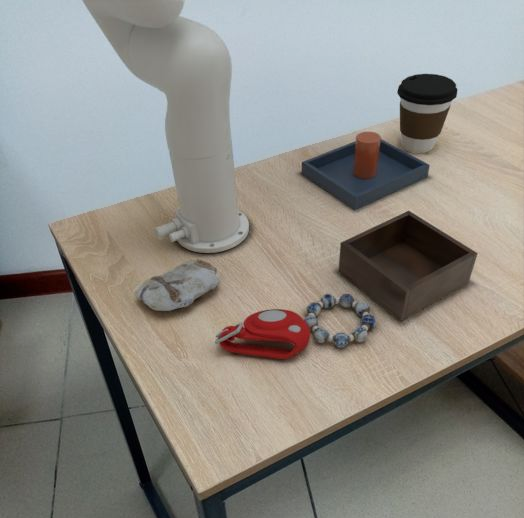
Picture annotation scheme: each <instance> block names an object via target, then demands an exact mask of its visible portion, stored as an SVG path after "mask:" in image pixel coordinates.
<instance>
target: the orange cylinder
mask: <svg viewBox="0 0 524 518" xmlns="http://www.w3.org/2000/svg"><path fill="white" fill-rule="evenodd" d="M381 139H382V136H381V134H379V133H378V132H374V131H362V132H360V133H359V132H358V134H356V136H355V141H356V144H355V156H354V168H353V174H354V175H355V176H356V177H358V178H361V179H370V178H373V177H375V176H376V174H377V167H378V159H379V150H380V142H381Z"/></svg>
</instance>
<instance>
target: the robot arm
mask: <svg viewBox="0 0 524 518" xmlns="http://www.w3.org/2000/svg"><path fill="white" fill-rule="evenodd" d="M81 1H82V2H83V4H84V6H85V7H86V9H87V11H88V12H89V14H90V15H91V17H92V18H93V20H94V21H95V23H96V24H97V26H98V28H99V29H100V30H101V31H102V33H103V35H104V37H105V38H106V39H107V41H108V43H109V44H110V46H111V47H112V48H113V50H114V52H115V53H116V54H117V56H118V57H119V59H120V60H121V62H122V63H123V64H124V66H125V67H126V68H127V69H128V71H129V72H131V74H132V75H134V77H136V78H137V79H139V80H141V81H142V82H144V83H145V84H147V85H149V86H151V87H153V88H155V89H157V90H158V91H159V92H161V93H164V95H165V97H166V102H167V103H166V112H165V119H164V132H165V138H166V145H167V149H168V154H169V159H170V165H171V170H172V175H173V179H174V186H175V191H176V196H177V202H178V207H179V209H177V210H175V211H174V217H175V218H172V219H170V222H168V223H164V224H161V225H159V226H157V227H154V233H155V235H156V237H157V239H159V240H162V239H164V238H166V237H169V240H170V242H171V243H174V242H177V243H178V244H179V245H181V247H183V248H184V249H186V250H188V251H191V252H195V253H199V254H200V253H201V254H215V253H222V252H224V251H228V250H231V249H233V248H235V247H237V246H239V245H240V244H241V243H242V242H243V241H245V239H246V238H247V237H248V234H249V232H250V222H249V219H248V217H247V216H246V215H245V213H243V212H242V211H241V210H240V209H239V203H238V192H237V191H238V190H237V181H236V171H235V170H236V169H235V159H234V150H233V140H232V131H231V130H232V129H231V116H230V100H231V99H230V98H231V87H232V76H233V74H232V73H233V65H232V58H231V54H230V51H229V48H228V47H227V45H226V43H225V41H224V40H223V39H222V37H221V36H219V34H218V33H216V31H215V30H213V29H211V28H210V27H208V26H207V25H205V24H203V23H200V22H198V21H195V20H193V19H190V18H188V17H184V16H181V13H182V12H183V9H184V6H185V0H81Z"/></svg>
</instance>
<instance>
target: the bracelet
mask: <svg viewBox="0 0 524 518" xmlns="http://www.w3.org/2000/svg"><path fill="white" fill-rule="evenodd" d="M337 304H340V306H341V307H342V308H344V309H349V308H350V307H352V308H354V309H355V312H356V314H357V315H358V316H360V317H361V319H360V326H358V327H356V328H354V329H353V330H352V332H351V333H350V334H347V333H345V332H337V333H335V334H330V332H329V330H328V329H326V328H325V327H319V320H318V319H317V317H318V316H319V315H320V314H321V309H322V308H324V309H331V308H332V307H334V305H337ZM370 312H371V306H370V304H369V303H368V302H366V301H359V302H358V301H356V300H355V298H354V296H353V295H352V294H350V293H343V294H341V296H340V297H339V296H336V297H335V296H333V295H332V294H330V293H326V294H323V295H322V296H321V297H320V301H318V302H310V303H309V304H307V306H306V314H307V316H305V318H303V320H304V321H305V322H306V324H307V325H308V327H309V330H310V331H312V332H313V338H314V340H315V341H316V342H317V343H319V344H324V343H325V342H327V341H329V342H333V344H334V346H336V347H337V348H340V349H341V348H345V347H347V346H348V344H349V343H350V342H354V341H355V342H357V343H363V342H364V341H366V340H367V339H368V331H369V330H372V329H374V328H375V325H376V318H375V317H374V316H373V315H372V314H370Z"/></svg>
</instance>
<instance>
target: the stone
mask: <svg viewBox="0 0 524 518" xmlns="http://www.w3.org/2000/svg"><path fill="white" fill-rule="evenodd" d="M219 283H220V278H219V276H218V275H217V268H216V267H215V266H214V265H212V264H211V262H207V261H205V260H202V259H199V258H198V259H195V260H194V259H193V260H187V261H183V262H181V263H180V264H179V265H177V266H175V267H174V268H172V269H170V270H168V271H167V272H165V273H163V274H160V275H155V276H151V277H150V278H148V279H146V280H145V281H143V282H142V283H141V284H140V285H139V287H138V288H137V291H136V294H135V295H136V296H135V298H137V300H140V301H141V302H143V303H144V304H145V305H147V306H148V307H149V308H150V309H152V310H154V311H158V312H159V311H160V312H171V311H174V310H177V309H181V308H187V307H188V306H190V305H192V304H193V303H194V301H195V300H196V299H198V298H200V297H202V296H203V295H204V294H205V293H208V292H209V291H211V290H212V291H214V290H215V289H216V288H217V286H218V285H219Z"/></svg>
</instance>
